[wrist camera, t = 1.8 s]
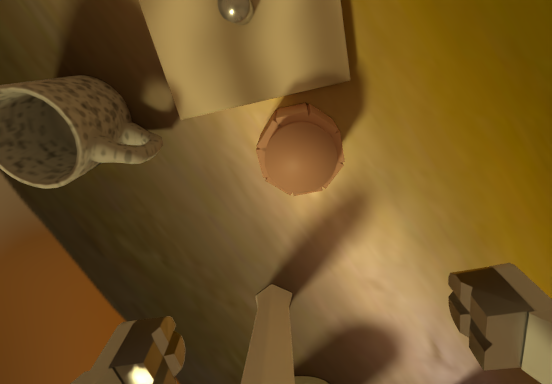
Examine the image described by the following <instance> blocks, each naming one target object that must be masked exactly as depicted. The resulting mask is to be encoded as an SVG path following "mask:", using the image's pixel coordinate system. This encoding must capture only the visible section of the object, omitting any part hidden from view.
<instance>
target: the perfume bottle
mask: <svg viewBox="0 0 552 384" xmlns="http://www.w3.org/2000/svg"><path fill="white" fill-rule="evenodd" d="M291 298H292V293H291V292H289V291H287V290H285V289H282V288H280V287H278V286H275V285H273V284H271V285H269V286H268V287H267V288H265V289H264V290H262V291H261V292H260V293H258V294H257V295H256V302H257V307H258V310H257V314H256V319H255V323H254V328H253V332H252V337H251V341H250V346H249V350H248V354H247V359H246V363H245V368H244V372H243V377H242V381H241V384H295V378H294V366H293V353H292V341H291V328H290V316H289V306H290V302H291Z"/></svg>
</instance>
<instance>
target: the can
mask: <svg viewBox="0 0 552 384" xmlns="http://www.w3.org/2000/svg"><path fill="white" fill-rule="evenodd" d="M294 378H295V384H330V383H328V382H326V381H324V380H322V379H319V378H316V377H311V376H295V377H294Z"/></svg>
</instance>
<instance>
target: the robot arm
mask: <svg viewBox="0 0 552 384" xmlns="http://www.w3.org/2000/svg"><path fill="white" fill-rule="evenodd" d="M448 284H449V286H450V287H451V289H452V290H453V292H452V293H451V294H450V296H449V308H450V312H451V316H452V318H453V321H454V323H455V325H456V327H457V328H458V330H459V332H460V333H462V334H464V335H465V336H467V337H469V348H470V349H471V351H472V353H473V354H474V356H475V357H476V359H477V361H478V362H479V364H480V365H481V367H482V369H483V370H484V371H486V370H497V369H509V368H520V367H522V368H521V369H522V370H523V371H525V372H526V373H527V374H529V375H530V376H532V377H533V378H534V379H536V380H537V381H539V382H540V383H541V384H552V299H551V298H550V297H549V296H548V295H546V294H545V293H544V292H543V291H542V290H541V289H540V288H539V287H538V286H537V285H536V284H535V283H533V282H532V281H531V280H530V279H529V278H528V277H527V276H526V275H525V274H524V273H523V272H522V271H520V270H519V269H518V268H517V267H516V266H515V265H513V264H511V263H506V264H500V265H494V266H489V267H483V268H477V269H471V270H465V271H459V272H452V273H450V275H449V283H448ZM175 326H176V324H175V322H174V321H173V319H172V317H169V316H165V317H157V318H149V319H141V320H137V321H128V322H123V323H121V324H120V325H118V327H117V328H116V330H115V331H114V333H113V335H112V336H111V338H110V339H109V341H108V343H107V344H106V346H105V347H104V349H103V351H102V352H101V354H100V356H99V357H98V359H97V360H96V362H95V364H94V365H93V367H92V368H91V370H90V371H87V372H84V373H83V374H82V375H80V376H79V377H78V378H77V379H76V380H74V381H73V382H72V383H71V384H177V382H176V380H175V377H174V376H175V375H176V374H177V373H178V372H179V371H180V370H181V369H182V366H183V363H184V360H185V345H184V341H183V339H182V336H181V335H180V334H178V333H176V332H175V331H174V328H175Z"/></svg>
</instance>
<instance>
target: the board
mask: <svg viewBox="0 0 552 384" xmlns="http://www.w3.org/2000/svg"><path fill="white" fill-rule="evenodd" d="M251 1H252V3H253V6H254V15H253V18H252V20H251V21H250V22H249V23H248V24H246V25H237V24H234V23H232V22H230V21H228V20H226V19H225V18H223V17H222V15H221V14H220V12H219V9H218V4H217V2H218V0H139V3H140V6H141V9H142V12H143V15H144V17H145V20H146V23H147V26H148V29H149V32H150V34H151V37H152V40H153V43H154V46H155V48H156V51H157V54H158V57H159V60H160V63H161V65H162V68H163V71H164V74H165V77H166V80H167V82H168V85H169V88H170V91H171V94H172V97H173V99H174V102H175V105H176V108H177V111H178V113H179V116H180V119H181V120H183V119H187V118H191V117H196V116H200V115H204V114H208V113H213V112H217V111H221V110H226V109H230V108H234V107H238V106H243V105H247V104H251V103H256V102H260V101H264V100H268V99H273V98H277V97H281V96H286V95H290V94H294V93H298V92H303V91H307V90H311V89H316V88H320V87H324V86H328V85H333V84H337V83H341V82H346V81H350V72H349V64H348V56H347V48H346V40H345V32H344V24H343V16H342V8H341V0H251Z"/></svg>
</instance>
